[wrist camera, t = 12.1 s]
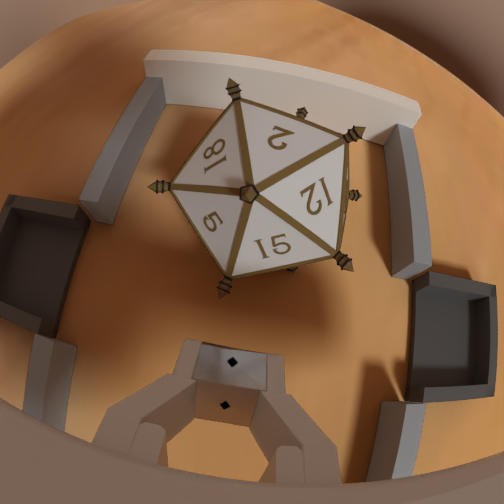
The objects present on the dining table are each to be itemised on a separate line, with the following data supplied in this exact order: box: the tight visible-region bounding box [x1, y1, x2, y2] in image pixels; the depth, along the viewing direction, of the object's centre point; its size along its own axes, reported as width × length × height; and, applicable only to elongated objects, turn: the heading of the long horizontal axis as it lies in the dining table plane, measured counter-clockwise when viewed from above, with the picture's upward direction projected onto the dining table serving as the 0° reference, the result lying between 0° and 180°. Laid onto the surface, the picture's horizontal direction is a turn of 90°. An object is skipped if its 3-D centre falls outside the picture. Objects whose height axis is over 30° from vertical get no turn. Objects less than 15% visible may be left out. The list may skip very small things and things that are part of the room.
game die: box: [148, 78, 366, 299], centre depth 13 cm, size 9×8×10 cm
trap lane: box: [0, 50, 498, 482], centre depth 13 cm, size 31×29×4 cm
